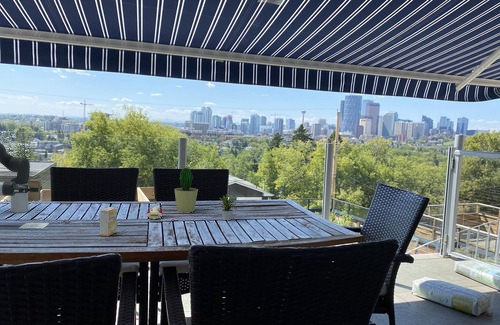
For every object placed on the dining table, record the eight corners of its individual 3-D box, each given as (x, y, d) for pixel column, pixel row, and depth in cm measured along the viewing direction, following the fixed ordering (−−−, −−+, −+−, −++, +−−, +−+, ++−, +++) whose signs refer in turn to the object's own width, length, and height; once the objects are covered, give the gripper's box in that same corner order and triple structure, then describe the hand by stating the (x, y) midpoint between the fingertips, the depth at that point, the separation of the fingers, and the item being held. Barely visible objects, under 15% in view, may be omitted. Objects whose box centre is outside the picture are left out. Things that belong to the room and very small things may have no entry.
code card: (25, 223, 209) (25, 223, 209) (49, 223, 212) (49, 222, 212) (18, 228, 199) (18, 228, 199) (43, 228, 201) (43, 227, 201)
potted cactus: (198, 213, 253) (200, 168, 250) (174, 213, 249) (175, 167, 246) (196, 208, 267) (197, 165, 265) (173, 209, 264) (174, 165, 261)
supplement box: (108, 236, 191) (108, 210, 190) (99, 235, 192) (99, 209, 191) (117, 232, 200) (117, 207, 199) (108, 231, 200) (108, 206, 199)
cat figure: (147, 213, 252) (145, 219, 228) (147, 200, 252) (145, 204, 228) (163, 213, 254) (162, 219, 230) (163, 200, 254) (163, 204, 230)
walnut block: (31, 199, 206) (31, 179, 205) (40, 199, 207) (40, 179, 206) (28, 201, 202) (28, 180, 201) (37, 201, 202) (37, 180, 202)
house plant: (235, 224, 228) (236, 196, 227) (212, 222, 231) (213, 195, 230) (240, 219, 242) (241, 193, 241) (219, 217, 245) (220, 191, 244)
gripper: (-2, 183, 194) (35, 183, 197) (9, 179, 207) (44, 180, 211) (-2, 198, 194) (35, 198, 198) (9, 193, 208) (44, 193, 212)
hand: (39, 189), depth 204 cm, fingers closed on walnut block, 4 cm apart
